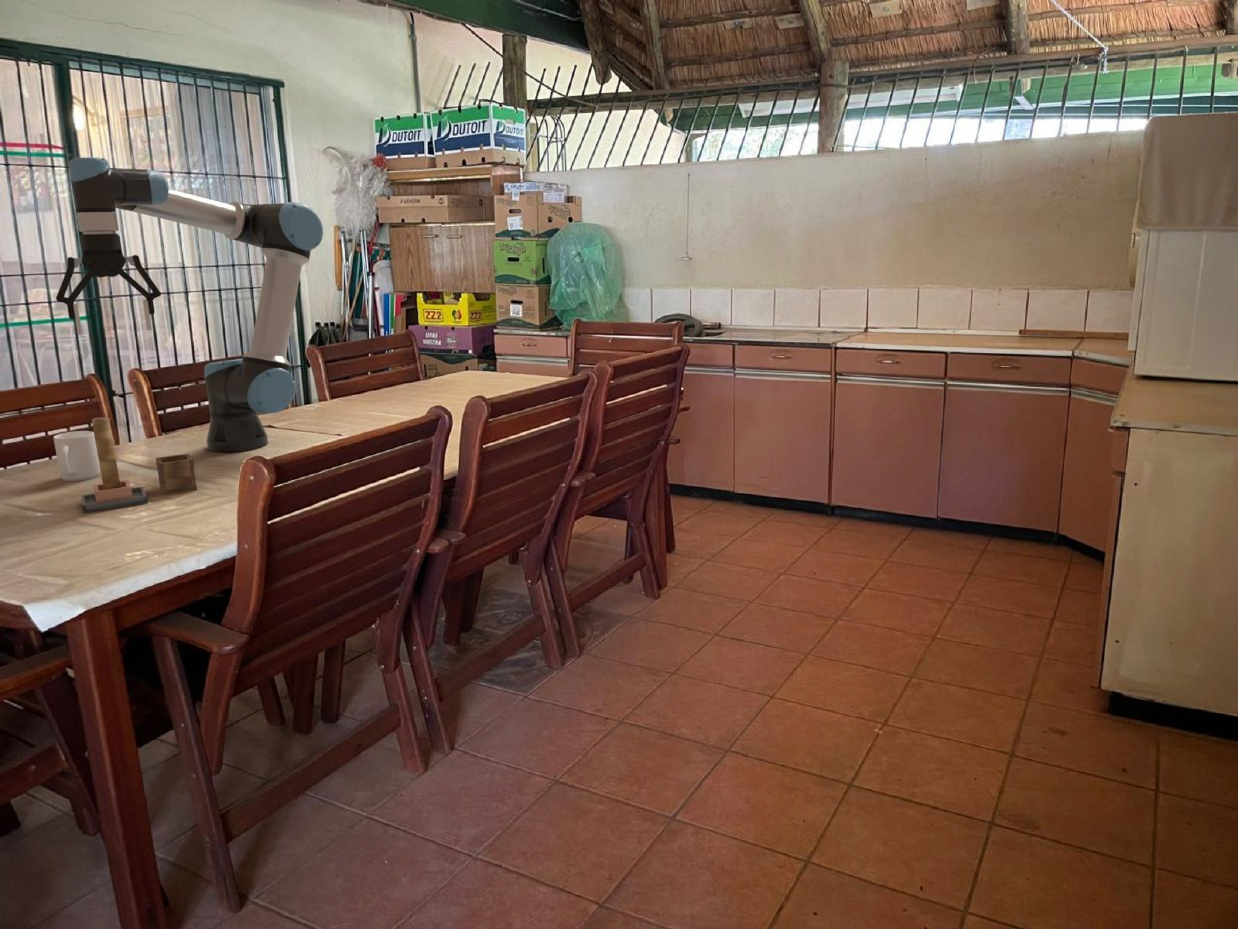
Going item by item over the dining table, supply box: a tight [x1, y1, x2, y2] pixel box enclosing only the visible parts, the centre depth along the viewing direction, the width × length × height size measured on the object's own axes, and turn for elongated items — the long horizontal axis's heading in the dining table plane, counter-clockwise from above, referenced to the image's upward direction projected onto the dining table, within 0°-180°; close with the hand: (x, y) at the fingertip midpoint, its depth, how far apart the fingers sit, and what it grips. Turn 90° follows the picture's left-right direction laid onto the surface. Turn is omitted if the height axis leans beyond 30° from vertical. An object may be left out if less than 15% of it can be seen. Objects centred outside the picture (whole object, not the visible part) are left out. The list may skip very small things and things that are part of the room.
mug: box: [53, 430, 101, 482], centre depth 217 cm, size 12×8×10 cm
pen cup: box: [155, 453, 198, 495], centre depth 207 cm, size 7×7×7 cm
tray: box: [80, 486, 149, 514], centre depth 197 cm, size 12×9×2 cm
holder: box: [92, 479, 133, 503], centre depth 197 cm, size 7×7×3 cm
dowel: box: [91, 416, 121, 490], centre depth 195 cm, size 3×3×17 cm
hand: (115, 332), depth 204 cm, fingers open, 13 cm apart
